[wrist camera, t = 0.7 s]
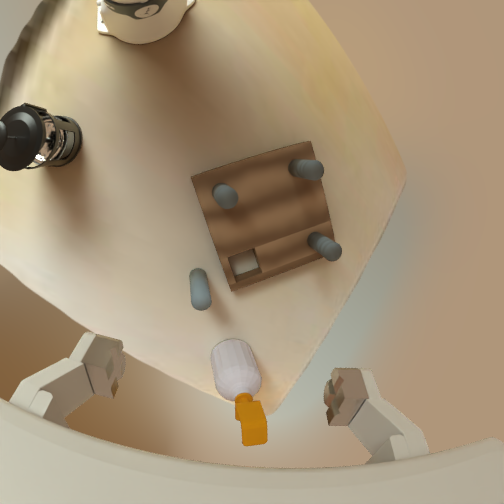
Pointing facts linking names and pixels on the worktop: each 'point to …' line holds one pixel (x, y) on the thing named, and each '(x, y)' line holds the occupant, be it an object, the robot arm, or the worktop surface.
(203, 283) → the stool leg
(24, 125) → the french press
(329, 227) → the stool
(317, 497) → the robot arm
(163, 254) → the worktop surface
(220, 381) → the white orange spray bottle
